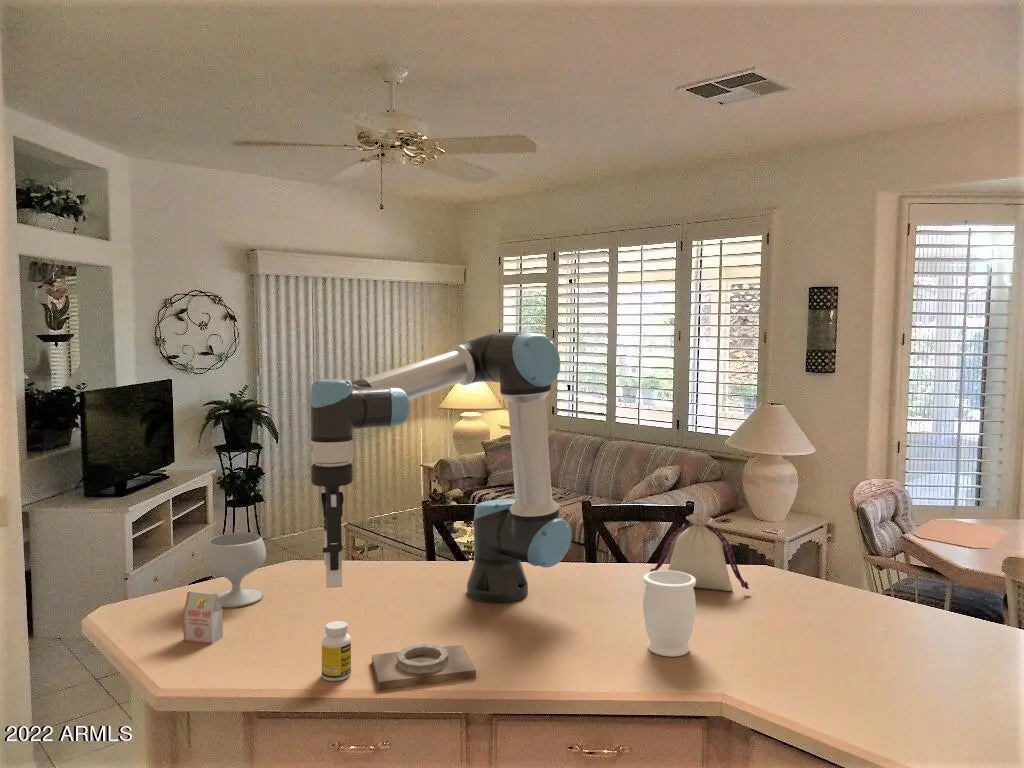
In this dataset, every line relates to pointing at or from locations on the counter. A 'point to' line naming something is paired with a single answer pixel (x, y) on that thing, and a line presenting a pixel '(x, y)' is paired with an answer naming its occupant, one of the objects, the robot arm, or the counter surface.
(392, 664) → the mount board
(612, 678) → the counter surface
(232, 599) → the chalice
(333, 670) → the supplement bottle
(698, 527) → the pouch
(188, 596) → the white carton
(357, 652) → the counter surface
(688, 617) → the jar
